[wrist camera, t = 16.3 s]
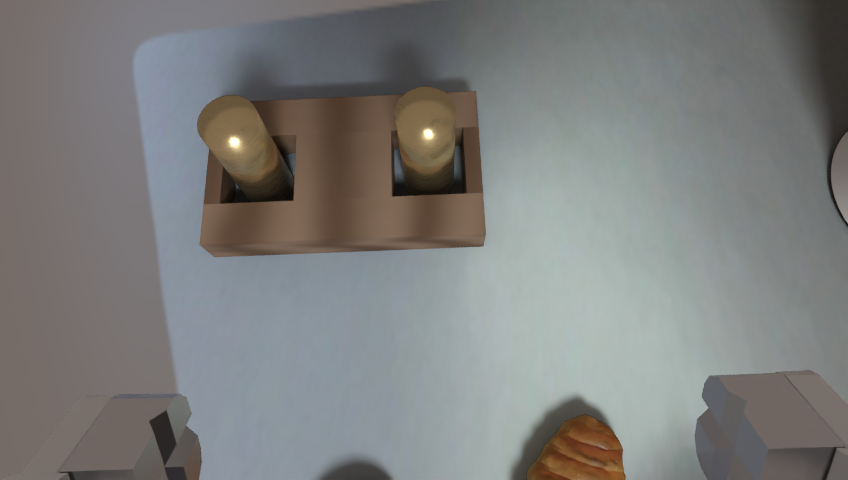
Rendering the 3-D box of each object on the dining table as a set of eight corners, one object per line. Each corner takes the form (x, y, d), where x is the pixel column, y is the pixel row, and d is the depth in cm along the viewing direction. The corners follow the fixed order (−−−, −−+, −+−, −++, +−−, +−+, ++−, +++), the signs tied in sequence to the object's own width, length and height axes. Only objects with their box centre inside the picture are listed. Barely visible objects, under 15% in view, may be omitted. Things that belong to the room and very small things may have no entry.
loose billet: (452, 155, 49) (454, 85, 40) (455, 200, 48) (457, 138, 39) (404, 157, 49) (394, 88, 40) (404, 202, 48) (395, 141, 39)
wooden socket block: (474, 111, 51) (476, 91, 48) (483, 246, 47) (485, 233, 44) (226, 122, 51) (213, 103, 48) (214, 257, 47) (199, 244, 44)
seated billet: (295, 161, 50) (259, 93, 40) (293, 206, 48) (255, 147, 39) (246, 163, 50) (200, 96, 40) (243, 208, 48) (194, 149, 39)
